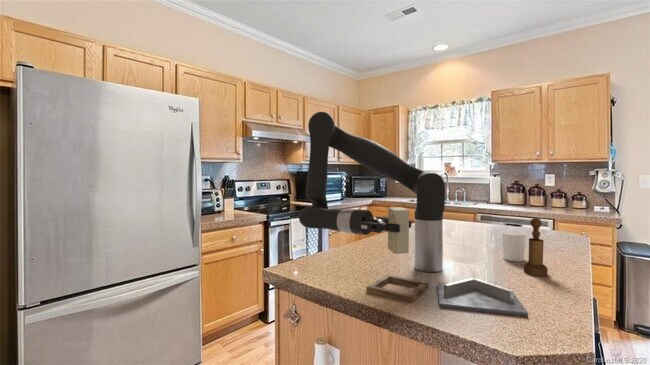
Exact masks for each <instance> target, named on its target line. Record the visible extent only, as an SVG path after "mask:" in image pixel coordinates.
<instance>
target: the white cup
mask: <svg viewBox="0 0 650 365" xmlns="http://www.w3.org/2000/svg"><path fill="white" fill-rule="evenodd" d="M526 239H527V234H526V232H521V231H520V232H519V231H514V230H513V231H510V230H509V231H508V230H507V231H505V230H504V231H501V242H502V243H501V244H502V252H503V253H502V254H503V255H502V258H503V260H505V261H509V262H519V263H520V262H523V261H525V252H526V243H527V242H526Z"/></svg>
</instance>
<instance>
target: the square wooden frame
mask: <svg viewBox="0 0 650 365" xmlns="http://www.w3.org/2000/svg"><path fill="white" fill-rule="evenodd" d="M388 283H395V284H399V285H404V286H410V287H412V288H414V289H412V290H411V291H410V292H409V293H404V292H400V291H397V290H396V291H395V290H392V289H387V288H383V286H385V285H386V284H388ZM429 285H430V284H429V282H427V281H421V280H420V281H419V280H415V279H411V278H407V277H401V276H396V275H392V274H386V275H384V276H382V277H381V278H379V279H377V280H375V281H374V282H371V284H368V285H366V287H365V289H366V293H370V294H374V295H378V296H382V297H385V298H390V299H394V300H397V301H401V302H405V303H410V304H411V303H412V302H414V301H415V300H417V299H418V298H419V297H420V296H421V295H422V294H423V293H425V292H426V291H427V290H428V289H429V288H430V287H429Z"/></svg>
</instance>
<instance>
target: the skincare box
mask: <svg viewBox="0 0 650 365" xmlns="http://www.w3.org/2000/svg"><path fill="white" fill-rule="evenodd" d="M387 215H388V216H387V217H388V223H392V224H399V225H400V232H398V233H397V232H387V249H388V250H389V251H390V252H392V253H393V254H395V255H398V254H399V255H400V254H409V248H410V246H409V245H410V244H409V243H410V241H409V240H410V228H409V220H410V209H408V208H405V207H402V206H399V207H396V206H395V207H394V206H393V207H390V206H389V207H388V214H387Z"/></svg>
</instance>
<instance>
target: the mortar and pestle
mask: <svg viewBox="0 0 650 365" xmlns="http://www.w3.org/2000/svg"><path fill="white" fill-rule="evenodd" d="M530 225H531V226H532V229H533V231H532V232H531V234H532V238H528V261H527V262H526V263H524V264H523V272H524V273H525V274H527V275H530V276H536V277H547V276H548V267H547V266H546V265H545V264H544V239H541V238H540V237H541V232H540V228H541V226H542V220H541V219H540V218H538V217H535V218H532V219H531V220H530Z"/></svg>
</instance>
